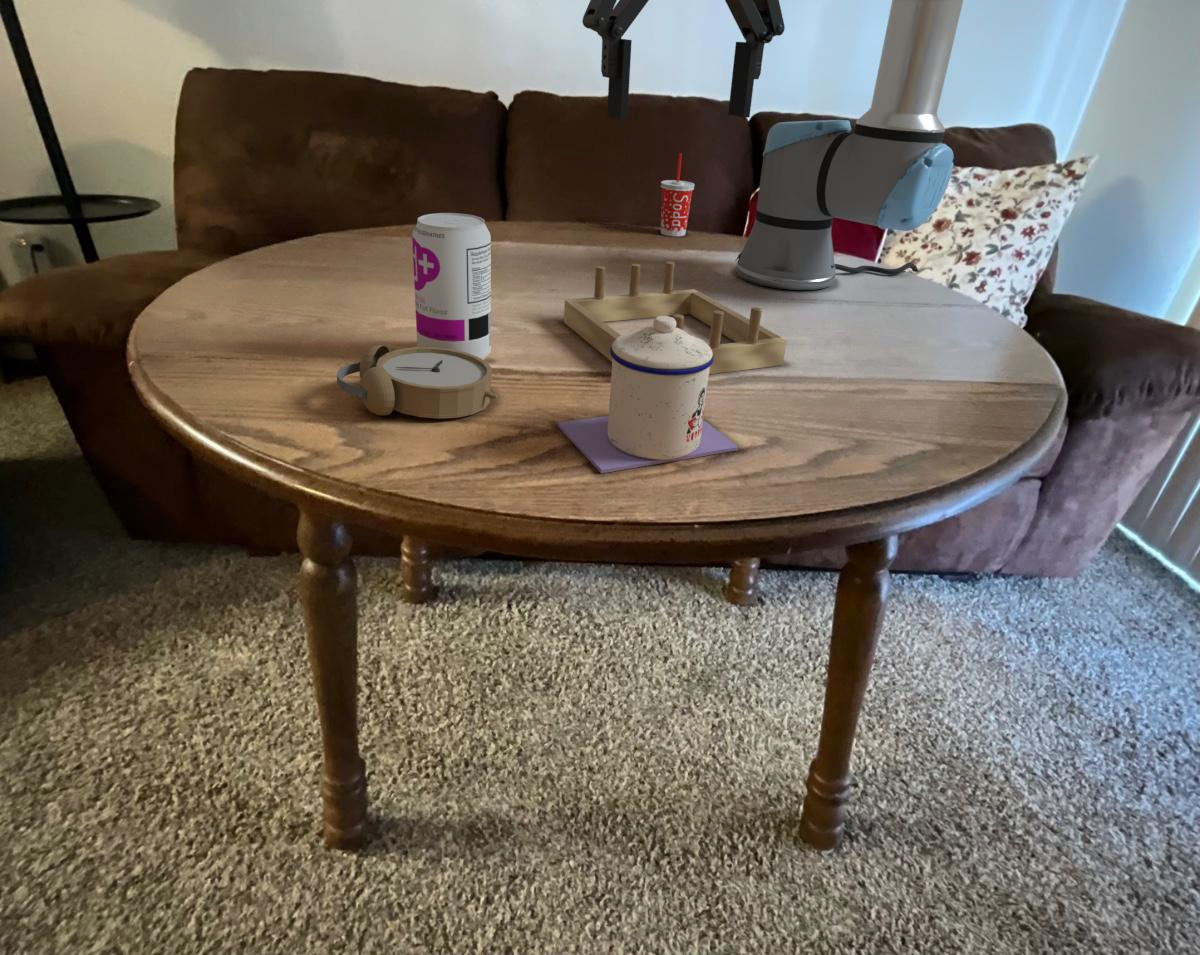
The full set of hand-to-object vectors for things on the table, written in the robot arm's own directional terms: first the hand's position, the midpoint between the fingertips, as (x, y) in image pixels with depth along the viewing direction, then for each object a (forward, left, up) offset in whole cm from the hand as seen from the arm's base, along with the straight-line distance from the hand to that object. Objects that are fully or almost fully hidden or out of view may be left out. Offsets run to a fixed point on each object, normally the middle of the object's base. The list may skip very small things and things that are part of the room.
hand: (679, 117), depth 82 cm
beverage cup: (-36, -61, -27) cm, 76 cm away
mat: (+9, +15, -27) cm, 31 cm away
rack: (-6, -8, -27) cm, 29 cm away
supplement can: (+20, -11, -27) cm, 35 cm away
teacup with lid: (+8, +15, -26) cm, 31 cm away
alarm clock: (+27, 0, -27) cm, 38 cm away
